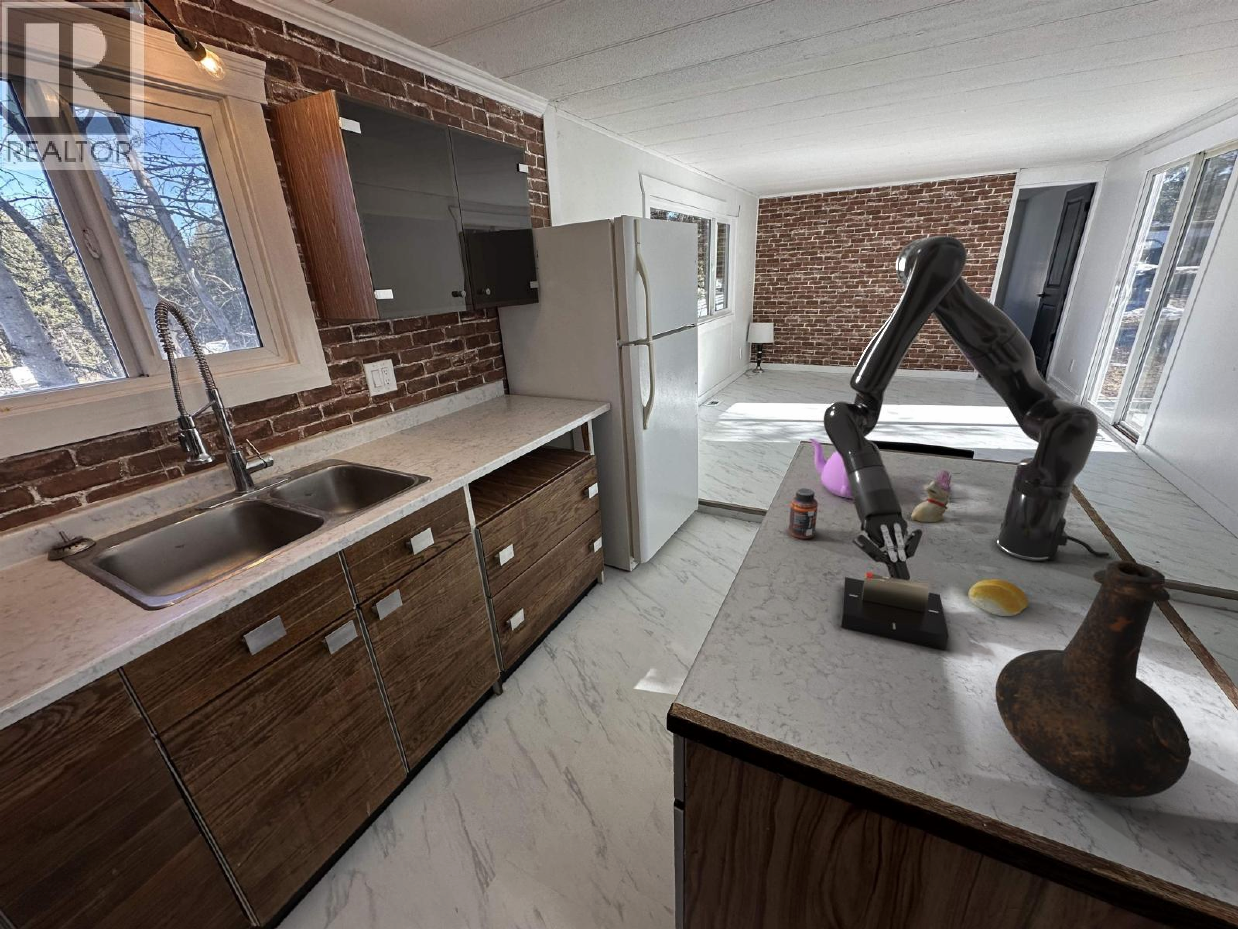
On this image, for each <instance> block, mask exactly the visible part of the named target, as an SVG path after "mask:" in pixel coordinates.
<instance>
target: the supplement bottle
mask: <svg viewBox="0 0 1238 929" xmlns="http://www.w3.org/2000/svg"><path fill="white" fill-rule="evenodd" d="M818 505H819V504H818V500H816V499H815V491H814V490H812V489H811V488H805V487H802V488H801V487H800V488H798V489H796V492H795V496H794V497H792V498H791V501H790V510H789V525H788V532H789V534H790V535H791V536H792V537H794V538H797V539H801V540H806V539H807V540H808V539H811V538H813V537H814V536H815V534H816V525H817V516H818Z"/></svg>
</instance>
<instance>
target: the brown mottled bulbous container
mask: <svg viewBox="0 0 1238 929" xmlns="http://www.w3.org/2000/svg"><path fill="white" fill-rule="evenodd" d="M1106 566H1107V567H1106V569H1102V570H1098V571H1095V572H1094V573H1093V575H1092V578H1093V580H1094V581H1095V582H1096V583H1098V584H1100V587H1099V589H1098V591H1097V594H1095V597H1094V599H1093V602H1092V604H1091V606H1090V608H1089V609H1088V611H1087V613H1086V615H1085V617H1084V618H1083V621H1081V624H1080V626H1079V627H1078V629H1077V630H1076V632H1075V634H1074V636H1073V637H1072V638H1071V640H1069V643H1068V644H1067V645H1066V646H1065V647H1064V649H1036V650H1032V651H1029V652H1025V653H1022V654H1020V655H1018V656H1016V657H1014V658H1013V659H1011V660H1009V661H1007V663H1006V664H1005V665H1004V666H1003V668H1002V669H1001V671H1000V672H999V675H998V677H997V680H996V684H995V693H994V694H995V701H996V706H997V709H998V712H999V715H1000V718H1001V720H1002V722H1003V724H1004V726H1005V728H1006V730H1007V731H1008V733H1009V734H1010V735H1011V737H1012V738H1013V741H1015V742H1016V744H1017V745H1018V746H1019V747H1020V748H1021V750H1022V751H1024V753H1025V754H1027V755H1028V756H1029V757H1030V758H1031V759H1032V760H1033V761H1034V762H1035V763H1037V764H1038V765H1040V767H1042V768H1044V769H1045V770H1046V771H1047V772H1049V773H1050V774H1052V775H1054V776H1056V777H1057V778H1059V779H1061V780H1062V781H1064V782H1066V783H1068V784H1070V785H1073V786H1075V787H1076V788H1079V789H1081V790H1085V791H1088V792H1091V793H1094V794H1097V795H1101V796H1107V797H1114V798H1123V799H1124V798H1125V799H1127V798H1128V799H1133V798H1136V799H1137V798H1147V797H1152V796H1155V795H1158V794H1161V793H1163V792H1165V791H1167V790H1168V789H1170V788H1172V787H1173V786H1174V785H1176V784H1178V782H1179V780H1180V779H1181V778H1182V777H1183V776H1184V775H1185V773H1186V771H1187V769H1188V765H1189V763H1190V757H1191V755H1192V748H1191V745H1190V740H1191V739H1190V738H1189V736H1188V733H1187V731H1186V730H1185V726H1184V725H1183V723H1182V721H1181V718H1179V716H1178V714H1177V713H1176V711H1175V710H1174V708H1173V707H1172V706H1171V705H1170V704H1169V703H1168V702H1167V701H1166V700H1165V699H1164V698H1163V697H1162V696H1161V695H1160V694H1159V693H1158V692H1157V691H1156V690H1154V689H1153V688H1152V687H1150V685H1147V684H1146V683H1145V682H1144V681H1142V680H1141V679H1139V678H1138V677H1137V670H1138V663H1139V656H1140V652H1141V647H1142V643H1143V640H1144V636H1145V632H1146V627H1147V625H1148V622H1149V619H1150V615H1151V613H1152V610H1153V606H1154V604H1155V602H1157V603H1163V602H1168V601H1169V600H1170V599H1171V595H1170V593H1169V591H1167V590H1166V588H1165V587H1164V586H1163V584H1165V583H1166V576H1165V575H1164V574H1163V573H1162V572H1160V571H1159V570H1157V569H1155V568H1153V567H1151V566H1148V565H1145V564H1141V563H1138V562H1133V561H1128V560H1115V561H1111V562H1109V563H1107V565H1106Z"/></svg>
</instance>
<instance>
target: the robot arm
mask: <svg viewBox="0 0 1238 929" xmlns="http://www.w3.org/2000/svg"><path fill="white" fill-rule="evenodd" d="M967 261H968V252H967V249H966V246H965V244H964V243H963V242H962V241H961V240H960V239H959V238H956V237H954V236H951V235H950V236H949V235H936V236H928V237H927V236H926V237H922V238H919V239H915V240H913V241H911V242H910V243H908V244H906V245H905V246H904V247H903V248H902V250H901V251H900V252H899V254H898V256H897V259H896V261H895V262H896V263H895V272H896V276H897V279H898V281H899V282H900V283H901V284H902V286H904V290H903V292H902V295H901V297H900V299H899V301H898V302H897V305H896V306H895V308H894V310H893V311H892V313H891V315H890V316H889V317H888V319H887V320H886V322H885V323H884V324H883V325H882V327H881V328H880V329H879V330H878V331H877V333H876V334H875V335H874V336H873V338H872V339H871V341H870V342H869V344H868V345H867V347H866V348H865V349H864V351H863V353H862V355H861V357H860V359H859V361H858V363H857V365H856V366H855V369H854V370H853V373H852V374H851V376H850V379H849V387H850V389H851V390H853V391H854V392H856V393H855V398H854V402H849V401H844V400H843V401H842V400H841V401H840V400H839V401H835V402H833V403H831V404H829V405H828V406H827V407H826V409H825V411H824V414H823V428H824V430H825V433H826V436H827V437H828V439H829V440H830V442H831V444H832V445H833V447H834V449H835V451H837V452H838V453H839V455H840V456H841V458H842V460H843V464H844V467H845V470H846V473H847V477H848V481H849V487H850V491H851V495H852V498H853V499H852V500H853V504H854V507H855V510H856V513H857V517H858V520H859V521H860V523H861V524H860V532H859V534H858V535H857V536H856V537H853V538H852V543H853V544H854V545H856V546H857V548H859V549H860V551H862V552H863V553H865V554H866V555H867V556H868V557H869V558H870V559H871V560H872V561H874V562H875V563H882V564H885V565H886V568H887V571H888V574H889V577H892V578H897V579H903V580H908V581H910V579H911V574H910V571H909V569H908V566H907V563H906V561H907V560H908V559H910V558H912V557H914V556H915V554H916V552H917V549H918V546H919V543H920V542H921V539H922V537H923V531H922V529H921V528H917V529H914V528H913V527H911V526H909V525H908V522H907V521H906V519H905V518H904V517H903V510H902V507H901V503H900V501H899V498H898V495H897V492H896V489H895V487H894V483H893V480H892V478H891V476H890V474H889V472H888V470H886V469H887V467H886V464H885V463H884V459H883V457H882V454H881V451H880V449H879V446H877V444H876V443H874V442H872V440H869V439H868V438H867V436H868V435H870V434H871V432H872V431H873V430H874V429H875V428H876V426H877V424H878V422H879V419H880V415H881V410H882V407H883V405H884V400H885V393H886V391H887V389H888V387H889V386H890V384H891V382H892V380H893V378H894V376H895V375H896V373H897V372H898V369H899V368H900V365H901V363H902V362H903V360H904V358H905V356H906V355H907V353H908V351H909V350H910V349H911V346H912V345H913V343H914V341H915V340H916V338H917V337H918V335H919V334H920V332H921V331H922V329H923V328H924V326H925V324H926V323H927V322H928V321H929V319H930V318H931V317H932V315H933V316H934V317H935V318H936V319H937V321H938V322H939V324H940V326H941V327H942V328H943V330H944V331H945V333H946V334H947V336H949V338H950V339H951V340H952V342H953V343H954V345H955V346H956V347H957V349H958V350H959V351H960V353H961V355H963V357H964V358H965V359H966V360H967V361H968V363H969V364H970V365H971V366H972V367H973V369H974V370H975V371H976V372H977V373H978V375H979V376H980V377H981V378H982V379H983V380H984V381H985V382H986V383H987V384H988V386H989V387H990V388H991V389H992V390H993V391H994V392H995V393H996V394H997V395H998V396H1000V398H1001V399H1002V401H1003V402H1004V403H1005V405H1006V406H1007V408H1008V410H1009V411H1010V413H1011V414H1012V416H1013V418H1014V419H1015V421H1016V423H1017V425H1018V426H1019V428H1020V429H1021V431H1022V433H1024V434H1025V435H1026V436H1027V437H1028V438H1029V439H1031V440H1033V441H1034V442H1036V443H1038V444H1037V447H1036V450H1035V453H1034V456H1033V457H1027V458H1023V459H1021V460H1020V461H1019V462H1018V463H1017V466H1016V469H1015V474H1014V477H1013V481H1012V485H1011V489H1010V492H1009V497H1008V500H1007V504H1006V509H1005V512H1004V515H1003V519H1002V522H1001V524H1000V528H999V529H1000V531H999V534H998V537H997V540H996V546H997V548H998V549H999V550H1001V551H1002V552H1003V553H1005V554H1007V555H1008V556H1011V557H1014V558H1017V559H1020V560H1024V561H1030V562H1044V561H1055V559H1056V555H1057V552H1058V549H1059V546H1061V547H1066V546H1067V543H1068V541H1072V542H1074V543H1076V544H1079V545H1081V546H1082V547H1084V548H1085V550H1087V551H1088V553H1090V554H1091V555H1093V556H1096V557H1110V553H1109V552H1104V551H1103V552H1099V551H1095V550H1094V549H1093V548H1092V547H1091V546H1090V544H1088V543H1087V542H1085V541H1082V540H1081V539H1078V538H1076V537H1074V536H1070V535H1068V534H1067V532H1066V531H1065V528H1066V524H1067V519H1066V518H1065V517H1064V514H1065V512H1066V508H1067V507H1068V506H1067V505H1068V503H1069V499H1070V497H1071V496H1070V495H1071V493H1072V489H1073V486H1074V483H1075V480H1076V477H1078V475H1079V474H1080V473H1081V472H1082V471H1083V470H1084V468H1085V467H1086V464H1087V461H1088V460H1089V456H1090V454H1091V451H1092V449H1093V447H1094V444H1095V441H1096V438H1097V435H1098V430H1099V420H1098V417H1097V415H1096V413H1095V412H1094V411H1093V410H1091V409H1090V408H1087V407H1085V406H1082V405H1080V404H1077V403H1074V402H1072V401H1069V400H1067V399H1064V398H1063V397H1061V396H1060V395H1058V394H1057V393H1056V392H1055V391H1054V389H1052V387H1050V386H1049V384H1047V382H1046V381H1045V380H1044V379H1043V378H1042V376H1041V375H1040V373H1039V371H1038V368H1037V363H1036V357H1035V352H1034V350H1033V347H1032V344H1031V343H1030V341H1029V340H1028V339H1027V337H1026V336H1025V334H1024V333H1023V332H1022V331H1021V330H1020V327H1018V325H1017V324H1016V323H1015V322H1014V321H1013V319H1011V318H1010V317H1009V316H1008V315H1007V314H1006V313H1005V312H1004V311H1002V310H1001V309H1000V308H999V307H997V306H996V305H994V304H993V303H992V302H991V301H990V300H988V299H986V298H985V297H983V296H982V295H980V294H979V293H978V292H977V291H975V290H974V289H973V288H972V287H971V286H970V285H969V284H968V283H967V281H966V280H965V279H964V278H963V276H962V274H963V272H964V271H965V267H966V266H967V265H966V264H967ZM885 467H886V468H885ZM904 538H905V539H906V540H905V541H904Z"/></svg>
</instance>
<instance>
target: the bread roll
mask: <svg viewBox="0 0 1238 929" xmlns="http://www.w3.org/2000/svg"><path fill="white" fill-rule="evenodd" d="M968 598H969V600H970V601H971V603H972V604H973V605H975V606H976V607H978V608H979V609H981V610H983V611H985V612H987V613H989V614H992V615H995V616H999V617H1013V616H1016V615H1019V614H1020V613H1021V612H1022V611H1023V610H1024V609H1026V608H1027V607H1028V604H1029V603H1028V602H1029V601H1028V597H1027V595H1026V593H1024V591H1023V590H1022V588H1020V587H1018V586H1017V585H1015V584H1013V583H1011V582H1010V581H1007V580H1003V579H999V578H998V579H997V578H991V579H983V580H980V581H978V582H976V583H975V584H973V585H972V586H971V587H970V588H969V591H968Z"/></svg>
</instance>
